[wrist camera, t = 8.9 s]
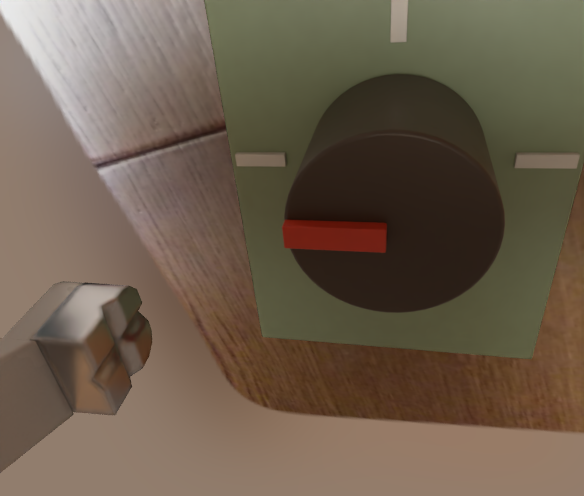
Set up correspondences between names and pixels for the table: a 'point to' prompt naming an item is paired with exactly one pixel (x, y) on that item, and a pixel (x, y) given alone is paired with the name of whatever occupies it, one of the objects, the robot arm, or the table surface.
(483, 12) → the panel
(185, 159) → the table surface
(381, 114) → the lock knob
